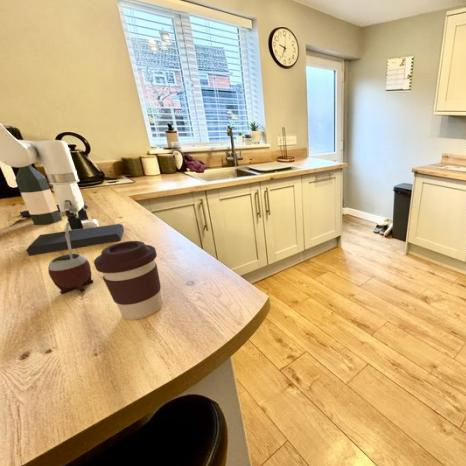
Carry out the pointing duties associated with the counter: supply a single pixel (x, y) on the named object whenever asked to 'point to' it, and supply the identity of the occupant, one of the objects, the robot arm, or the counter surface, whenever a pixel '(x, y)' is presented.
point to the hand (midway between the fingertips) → (80, 224)
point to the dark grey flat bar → (76, 239)
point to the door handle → (27, 215)
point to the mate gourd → (70, 270)
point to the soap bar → (86, 224)
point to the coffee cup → (131, 278)
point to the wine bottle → (37, 196)
